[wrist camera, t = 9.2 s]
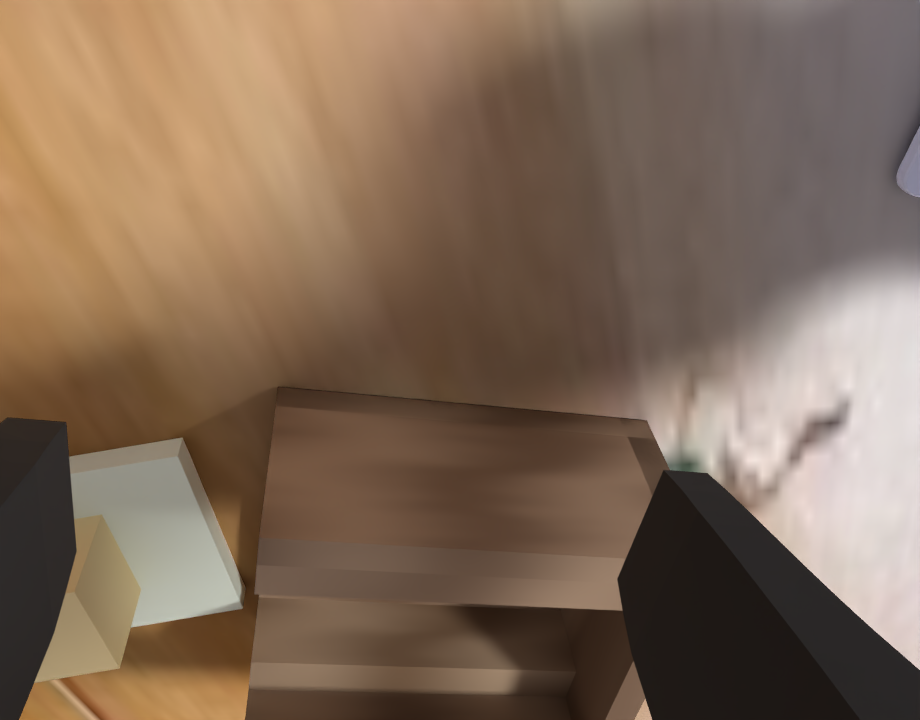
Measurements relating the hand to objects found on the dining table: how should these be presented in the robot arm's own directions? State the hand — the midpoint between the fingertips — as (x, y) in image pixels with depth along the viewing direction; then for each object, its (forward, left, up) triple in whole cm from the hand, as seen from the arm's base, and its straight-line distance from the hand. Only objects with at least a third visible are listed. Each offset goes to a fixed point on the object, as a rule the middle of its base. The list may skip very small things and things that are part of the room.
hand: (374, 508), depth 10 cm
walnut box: (-4, +10, -10) cm, 15 cm away
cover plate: (+7, +12, -10) cm, 17 cm away
